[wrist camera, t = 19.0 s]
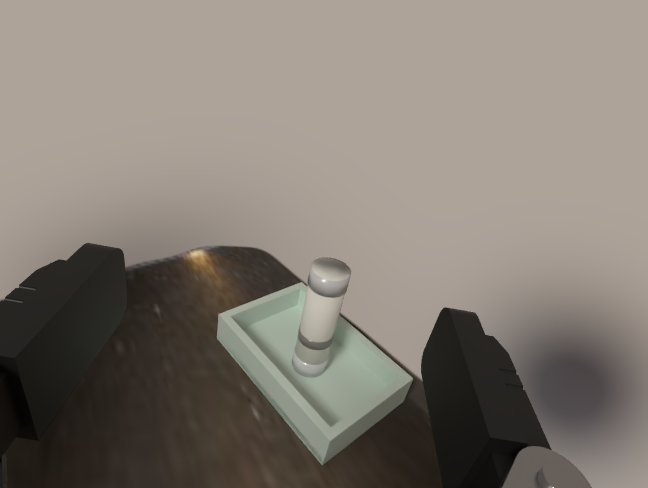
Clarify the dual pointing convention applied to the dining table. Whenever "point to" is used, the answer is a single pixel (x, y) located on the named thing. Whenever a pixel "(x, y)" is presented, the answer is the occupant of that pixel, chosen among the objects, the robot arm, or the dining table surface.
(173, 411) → the dining table surface
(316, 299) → the fuse
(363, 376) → the parts tray
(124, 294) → the robot arm
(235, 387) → the dining table surface
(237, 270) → the dining table surface
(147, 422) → the dining table surface
